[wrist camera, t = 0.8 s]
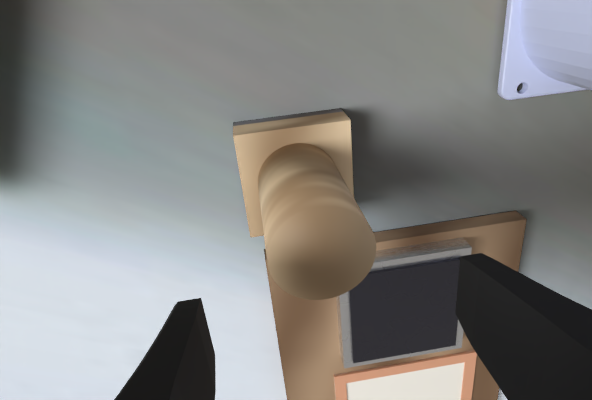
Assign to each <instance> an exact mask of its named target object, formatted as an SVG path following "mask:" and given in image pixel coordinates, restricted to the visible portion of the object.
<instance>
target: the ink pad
mask: <svg viewBox="0 0 592 400" xmlns="http://www.w3.org/2000/svg"><path fill="white" fill-rule="evenodd" d="M471 251H472V247H471V246H470V245H469V244H468V243H467V241H466V240H465V239H464V238H463V237H461V238H455V239H448V240H442V241H435V242H429V243H423V244H416V245H410V246H404V247H397V248H391V249H384V250H378V251H376V256H375V260H374V263H373V266H372V268H371V270H370V271H369V273H368V274H367V276H366V277H365V278H364V279H363V280H362V281H361V282H360V283H359V284H358V285H357V286H356V287H354V288H353V289H352V290H350V291H348V292H346V293H344V294H342V295H340V296H337V297H336V301H337V315H338V329H339V343H340V356H341V359H342V363H343V366H344V368H350V367H355V366H361V365H367V364H373V363H378V362H384V361H390V360H395V359H401V358H407V357H413V356H418V355H424V354H430V353H435V352H441V351H447V350H452V349H458V348H462V340H463V328H462V326H461V324H460V322H459V320H458V318H457V316H456V314H455V311H456V300H457V288H458V277H459V266H460V256H465V255H471Z"/></svg>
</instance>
